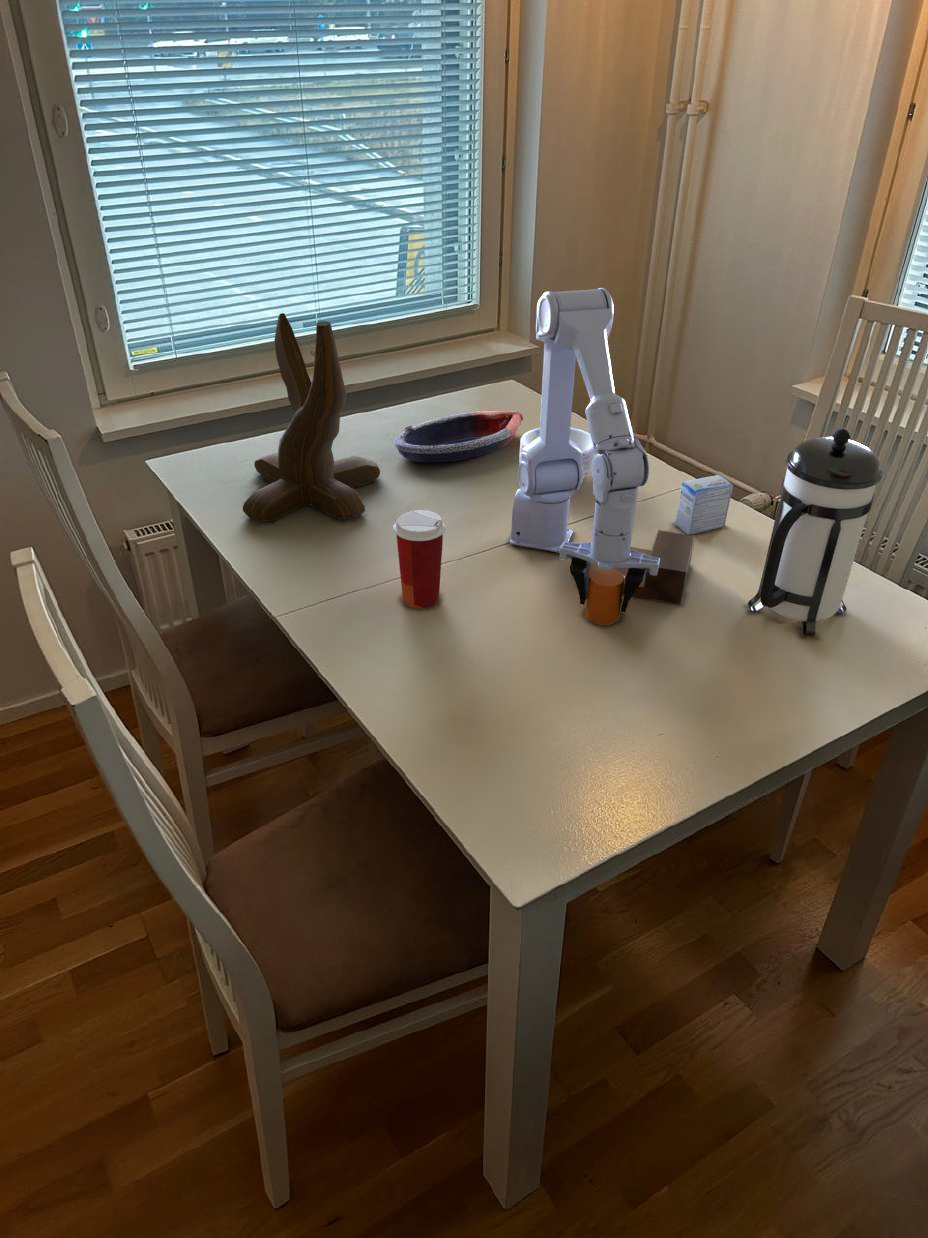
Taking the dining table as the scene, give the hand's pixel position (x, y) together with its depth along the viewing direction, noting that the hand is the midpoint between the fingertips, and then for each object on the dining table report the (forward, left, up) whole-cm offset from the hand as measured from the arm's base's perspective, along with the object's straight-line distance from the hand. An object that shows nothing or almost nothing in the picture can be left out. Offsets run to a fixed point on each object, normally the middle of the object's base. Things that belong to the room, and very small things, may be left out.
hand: (603, 605), depth 140 cm
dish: (-40, +52, -2) cm, 66 cm away
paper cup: (-28, -5, -2) cm, 29 cm away
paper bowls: (-18, +45, -2) cm, 49 cm away
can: (0, 0, -2) cm, 2 cm away
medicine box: (+11, +34, -2) cm, 36 cm away
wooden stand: (-61, +22, -2) cm, 65 cm away
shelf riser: (+3, +13, -2) cm, 13 cm away
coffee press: (+28, +10, -2) cm, 30 cm away
